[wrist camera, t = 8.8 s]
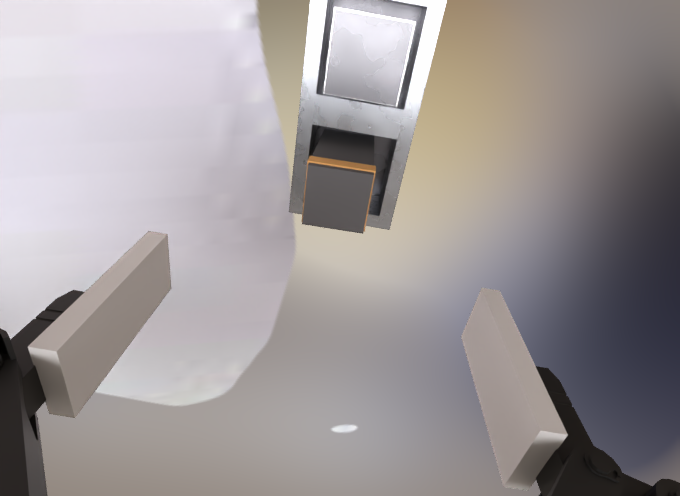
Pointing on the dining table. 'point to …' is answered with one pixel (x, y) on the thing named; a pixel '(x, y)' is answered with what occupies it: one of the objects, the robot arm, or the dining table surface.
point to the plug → (339, 181)
